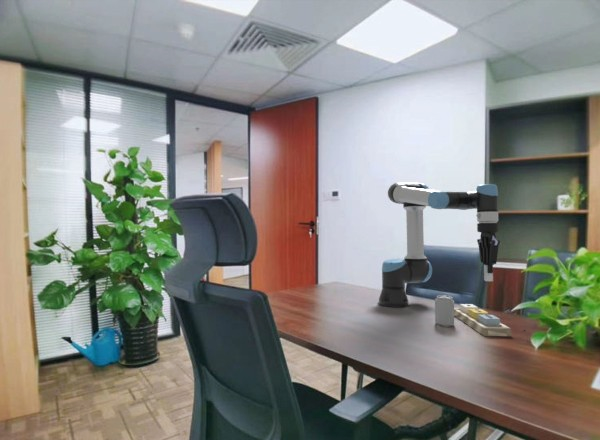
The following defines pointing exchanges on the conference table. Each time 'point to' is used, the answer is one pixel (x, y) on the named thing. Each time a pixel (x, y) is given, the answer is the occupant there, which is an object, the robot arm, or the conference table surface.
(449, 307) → the can
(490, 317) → the tile
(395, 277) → the robot arm
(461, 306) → the tile
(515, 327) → the conference table surface
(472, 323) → the frame
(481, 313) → the tile
